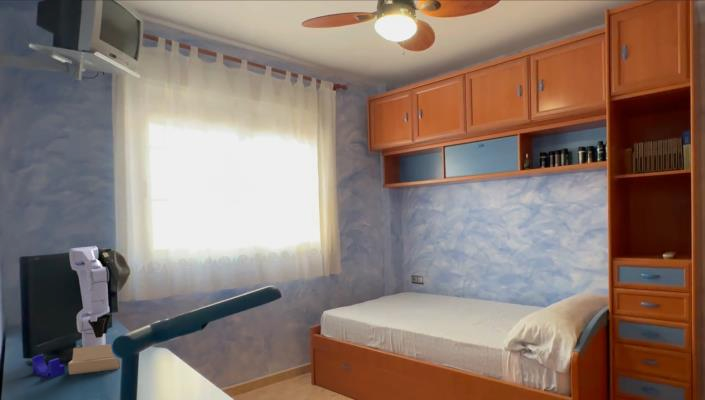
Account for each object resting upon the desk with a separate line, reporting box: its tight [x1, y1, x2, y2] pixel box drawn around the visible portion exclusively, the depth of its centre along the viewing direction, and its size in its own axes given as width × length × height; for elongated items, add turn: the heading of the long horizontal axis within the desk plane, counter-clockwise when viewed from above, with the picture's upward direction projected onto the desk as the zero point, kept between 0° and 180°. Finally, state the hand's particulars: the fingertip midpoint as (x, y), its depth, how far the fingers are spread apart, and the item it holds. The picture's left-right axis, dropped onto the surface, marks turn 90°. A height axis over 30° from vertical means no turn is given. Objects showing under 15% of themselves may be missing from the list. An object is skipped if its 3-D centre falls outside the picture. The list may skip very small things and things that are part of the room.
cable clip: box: [31, 354, 66, 379], centre depth 156 cm, size 12×4×6 cm, turn 63°
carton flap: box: [71, 343, 114, 362], centre depth 156 cm, size 4×14×1 cm
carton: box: [67, 357, 121, 375], centre depth 162 cm, size 14×17×4 cm
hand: (101, 335), depth 164 cm, fingers open, 4 cm apart
